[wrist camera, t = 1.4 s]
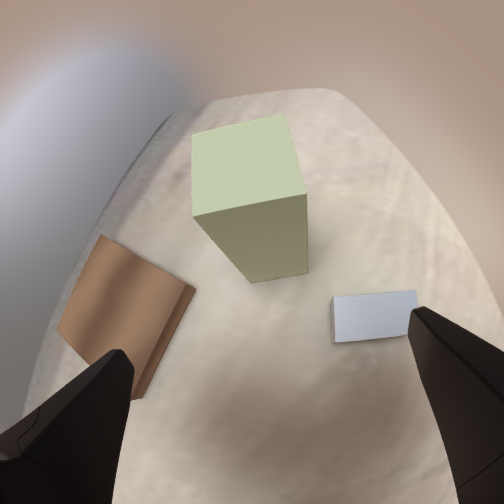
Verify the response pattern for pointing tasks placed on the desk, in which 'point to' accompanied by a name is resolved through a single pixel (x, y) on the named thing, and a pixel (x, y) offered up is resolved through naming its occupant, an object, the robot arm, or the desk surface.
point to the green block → (252, 197)
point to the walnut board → (124, 310)
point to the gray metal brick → (371, 315)
